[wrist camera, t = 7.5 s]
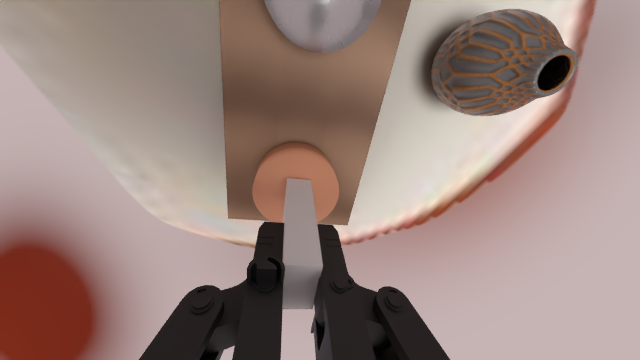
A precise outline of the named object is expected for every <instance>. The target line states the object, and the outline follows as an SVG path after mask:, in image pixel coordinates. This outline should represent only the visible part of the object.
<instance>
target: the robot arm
mask: <svg viewBox="0 0 640 360" xmlns="http://www.w3.org/2000/svg"><path fill="white" fill-rule="evenodd" d="M313 305H314V306H315V316H314V320H313V323H312V328H311V333H314V338H315V352H316V360H450V359H449V358H448V356H447V354H446V353H445V352H444V350H443V349H442V347H441V346H440V344H439V343H438V342H437V340H436V339H435V337H434V336H433V334H432V333H431V331H430V330H429V329H428V327H427V326H426V324H425V323H424V321H423V320H422V319H421V317H420V316H419V314H418V313H417V311H416V310H415V309H414V307H413V306H412V304H411V303H410V301H409V300H408V298H407V297H406V296H405V295H404V294H403V293H402V292H400V291H399V290H398V289H396V288H393V287H382V288H381V289H379V291H378V292H375V291H373V290H369V289H366V288H363V287H361V286H359V285H358V284H356V283H355V282H354V280H353V279H352V278H351V277H350V276H349V274H348V272H347V267H346V263H345V259H344V255H343V251H342V248H341V243H340V239H339V235H338V232H337V230H336V229H335V228H334V226H333V225H325V224H317V219H316V212H315V205H314V197H313V190H312V183H311V180H305V179H294V178H287V183H286V193H285V202H284V212H283V223H279V222H264V223H263V224H262V225H261V227H260V228H259V231H258V237H257V242H256V247H255V253H254V259H253V260H252V261H251V262H250V263H249V266H248V268H247V279H246V280H245V281H244V282H242V283H241V284H239V285H237V286H234V287H232V288H229V289H225V290H220V289H219V288H217V287H215V286H212V285H211V286H210V285H204V286H200V287H197V288H195V289H193V290H192V291H190V292H189V293H188V294H187V295H186V296H185V297H184V298H183V299H182V301H181V302H180V303H179V305H178V306H177V307H176V309H175V310H174V311H173V313H172V314H171V316H170V317H169V319H168V320H167V321H166V323H165V324H164V325H163V327H162V328H161V330H160V331H159V332H158V334H157V335H156V337H155V338H154V339H153V341H152V342H151V344H150V345H149V346H148V348H147V349H146V350H145V352H144V353H143V355H142V356H141V357H140V359H139V360H219V359H220V357H221V355H222V353H223V350H224V349H227V348H229V347H232V346H235V348H234V354H233V359H232V360H280V358H281V331H282V309H313Z"/></svg>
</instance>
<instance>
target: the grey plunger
mask: <svg viewBox="0 0 640 360" xmlns="http://www.w3.org/2000/svg"><path fill="white" fill-rule="evenodd" d="M264 1H265V4H266V6H267V9H268V11H269V13H270V15H271V17H272V19H273V20H274V22H275V24H276V25H277V27H278V28H279V29H280V31H281V32H282V33H283V34H284V35H285V36H286V38H287V39H289V40H290V41H291V42H292V43H294V44H295V45H297V46H299V47H300V48H303V49H305V50H309V51H313V52H333V51H337V50H340V49H343V48H345V47H347V46H349V45H350V44H352V43H353V42H355V41H356V40H357V39H358V38H359V37H360V36H362V35H363V33H364V32H365V31H366V30H367V29H368V27H369V26H370V24H371V23H372V21H373V19H374V18H375V16H376V14H377V12H378V9H379V6H380V4H381V0H264Z"/></svg>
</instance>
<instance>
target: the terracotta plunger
mask: <svg viewBox="0 0 640 360" xmlns="http://www.w3.org/2000/svg"><path fill="white" fill-rule="evenodd" d="M287 178H294V179H305V180H311V183H312V190H313V197H314V205H315V212H316V219H317V222H319V221H321V220H322V219H324V218H325V217H326V216H328V215H329V214H330V212H331V211H332V210H333V209H334V207H335V205H336V203H337V201H338V197H339V184H338V181H337V178H336V175H335V172H334V169H333V166H332V164H331V162H330V160H329V159H328V157H327V156H326V155H325V154H324V153H323V152H322V151H320V150H319V149H317V148H315V147H313V146H311V145H308V144H303V143H288V144H284V145H281V146H278V147H276V148H274V149H273V150H271V151H270V152H269V153H267V154H266V155H265V157H264V158H263V159H262V161H261V162H260V164H259V167H258V170H257V173H256V177H255V180H254V184H253V190H252V194H253V200H254V203H255V205H256V207H257V209H258V210H259V211H260V213H261V214H262V215H263V216H264V217H265V218H267V219H268V220H270V221H271V222H279V223H283V212H284V202H285V193H286V183H287Z"/></svg>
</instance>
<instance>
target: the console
mask: <svg viewBox="0 0 640 360" xmlns="http://www.w3.org/2000/svg"><path fill="white" fill-rule="evenodd" d="M410 2H411V0H381V4H380V6H379V9H378V12H377V14H376V16H375V18H374V19H373V21H372V23H371V24H370V26H369V27H368V29H367V30H366V31H365V32H364V33H363V35H362V36H360V37H359V38H358V39H357V40H356V41H355V42H353V43H352V44H350V45H349V46H347V47H345V48H343V49H340V50H337V51H333V52H313V51H309V50H305V49H303V48H300V47H299V46H297V45H295V44H294V43H292V42H291V41H290V40H289V39H287V38H286V36H285V35H284V34H283V33H282V32H281V31H280V29H279V28H278V27H277V25H276V24H275V22H274V20H273V19H272V17H271V15H270V13H269V11H268V9H267V6H266V4H265V1H264V0H219V11H220V35H221V59H222V83H223V107H224V131H225V155H226V179H227V203H228V218H230V219H247V220H265V221H270V220H268V219H267V218H265V217H264V216H263V215H262V214H261V213H260V211H259V210H258V209H257V207H256V205H255V203H254V200H253V194H252V190H253V184H254V180H255V177H256V173H257V170H258V167H259V164H260V162H261V161H262V159H263V158H264V157H265V155H266V154H267V153H269V152H270V151H271V150H273V149H274V148H276V147H278V146H281V145H284V144H288V143H303V144H308V145H311V146H313V147H315V148H317V149H319V150H320V151H322V152H323V153H324V154H325V155H326V156H327V157H328V159H329V160H330V162H331V164H332V166H333V169H334V172H335V175H336V178H337V181H338V184H339V197H338V201H337V203H336V205H335V207H334V209H333V210H332V211H331V212H330V214H329V215H328V216H326V217H325V218H324V219H322V220H321V221H319V222H317V224H334V225H348V221H349V218H350V214H351V211H352V207H353V204H354V200H355V197H356V193H357V189H358V186H359V182H360V179H361V175H362V172H363V168H364V165H365V161H366V158H367V154H368V151H369V147H370V143H371V140H372V136H373V133H374V129H375V126H376V122H377V119H378V115H379V112H380V108H381V104H382V101H383V97H384V94H385V90H386V87H387V83H388V80H389V76H390V73H391V69H392V66H393V62H394V58H395V55H396V51H397V48H398V44H399V41H400V37H401V34H402V30H403V27H404V23H405V20H406V16H407V12H408V9H409V5H410Z"/></svg>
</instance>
